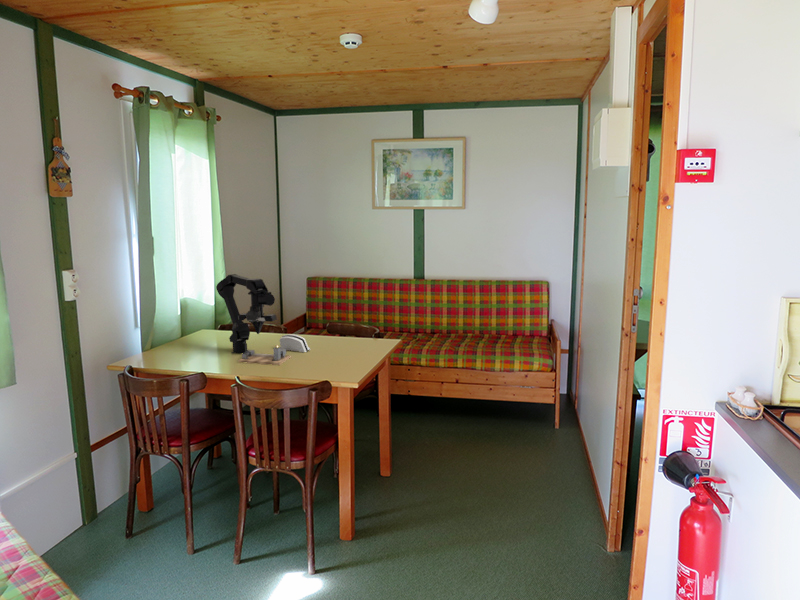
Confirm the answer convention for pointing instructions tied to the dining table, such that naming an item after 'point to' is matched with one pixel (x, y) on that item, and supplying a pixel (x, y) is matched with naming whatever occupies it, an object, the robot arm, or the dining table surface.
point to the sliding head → (278, 352)
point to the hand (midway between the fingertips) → (258, 333)
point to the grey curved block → (294, 343)
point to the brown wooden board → (264, 360)
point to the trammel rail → (256, 355)
